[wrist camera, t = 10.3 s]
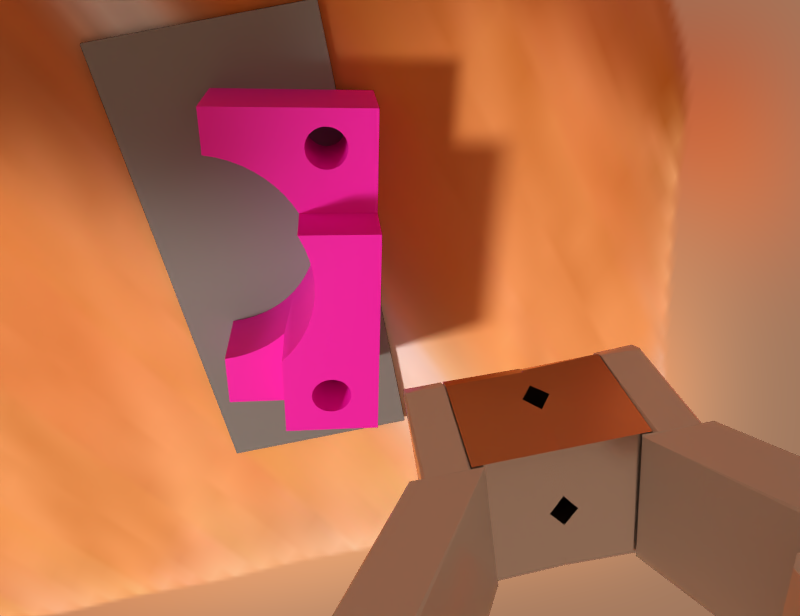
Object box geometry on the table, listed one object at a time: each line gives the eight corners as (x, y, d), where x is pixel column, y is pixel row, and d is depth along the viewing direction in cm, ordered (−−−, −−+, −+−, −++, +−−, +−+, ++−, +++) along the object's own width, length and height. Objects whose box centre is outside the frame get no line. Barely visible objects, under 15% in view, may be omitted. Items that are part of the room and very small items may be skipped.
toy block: (377, 427, 33) (223, 433, 32) (369, 357, 38) (237, 361, 38) (384, 123, 26) (185, 121, 25) (373, 90, 31) (209, 88, 30)
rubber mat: (237, 450, 41) (237, 453, 41) (81, 42, 29) (79, 44, 29) (404, 417, 41) (404, 420, 41) (316, -3, 29) (316, -2, 29)
